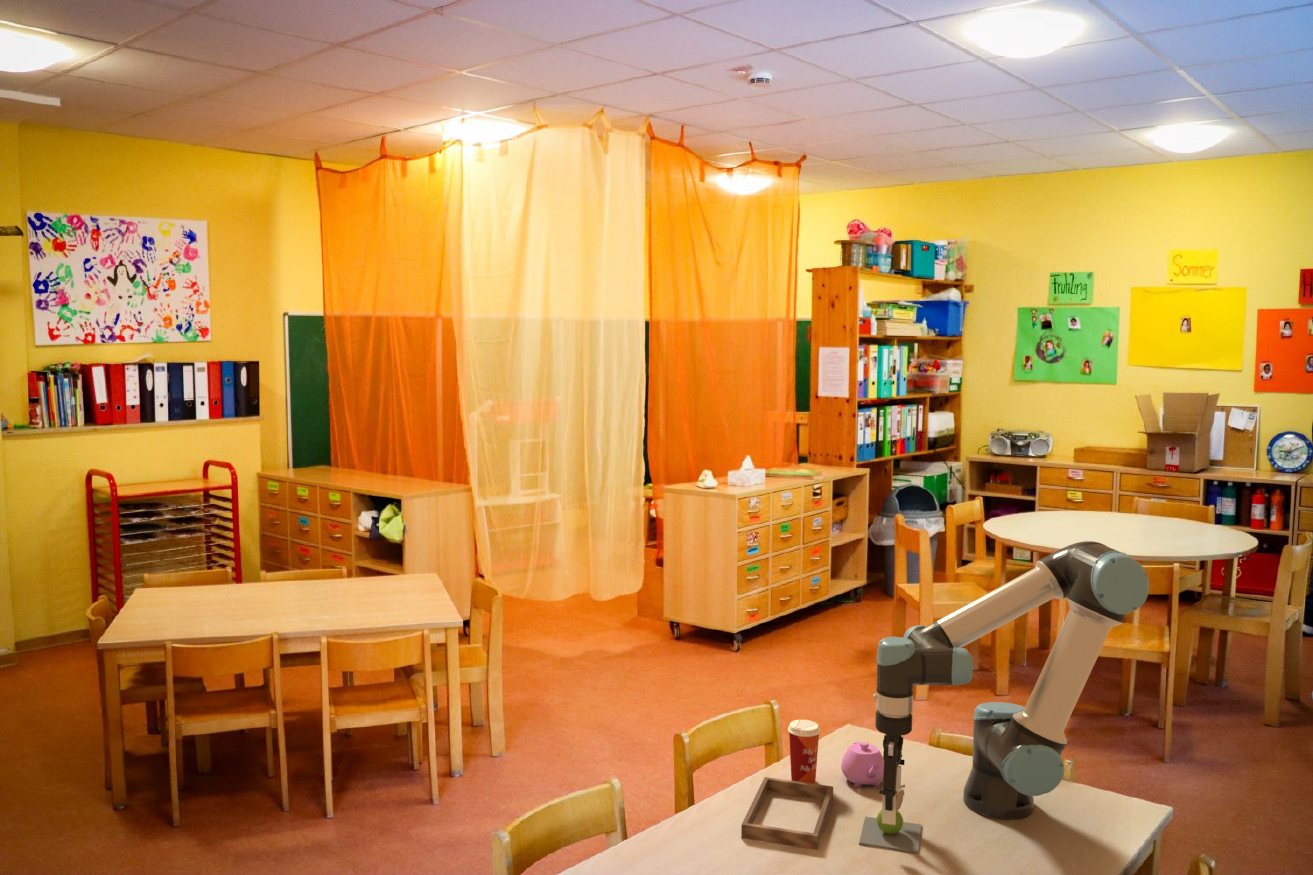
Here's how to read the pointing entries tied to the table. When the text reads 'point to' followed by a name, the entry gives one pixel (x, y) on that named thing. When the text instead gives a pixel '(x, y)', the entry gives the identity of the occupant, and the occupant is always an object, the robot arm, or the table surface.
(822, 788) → the brown wooden frame
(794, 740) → the paper cup
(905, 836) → the slate mat
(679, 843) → the table surface
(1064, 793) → the table surface
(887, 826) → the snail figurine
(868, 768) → the pink rounded piece
